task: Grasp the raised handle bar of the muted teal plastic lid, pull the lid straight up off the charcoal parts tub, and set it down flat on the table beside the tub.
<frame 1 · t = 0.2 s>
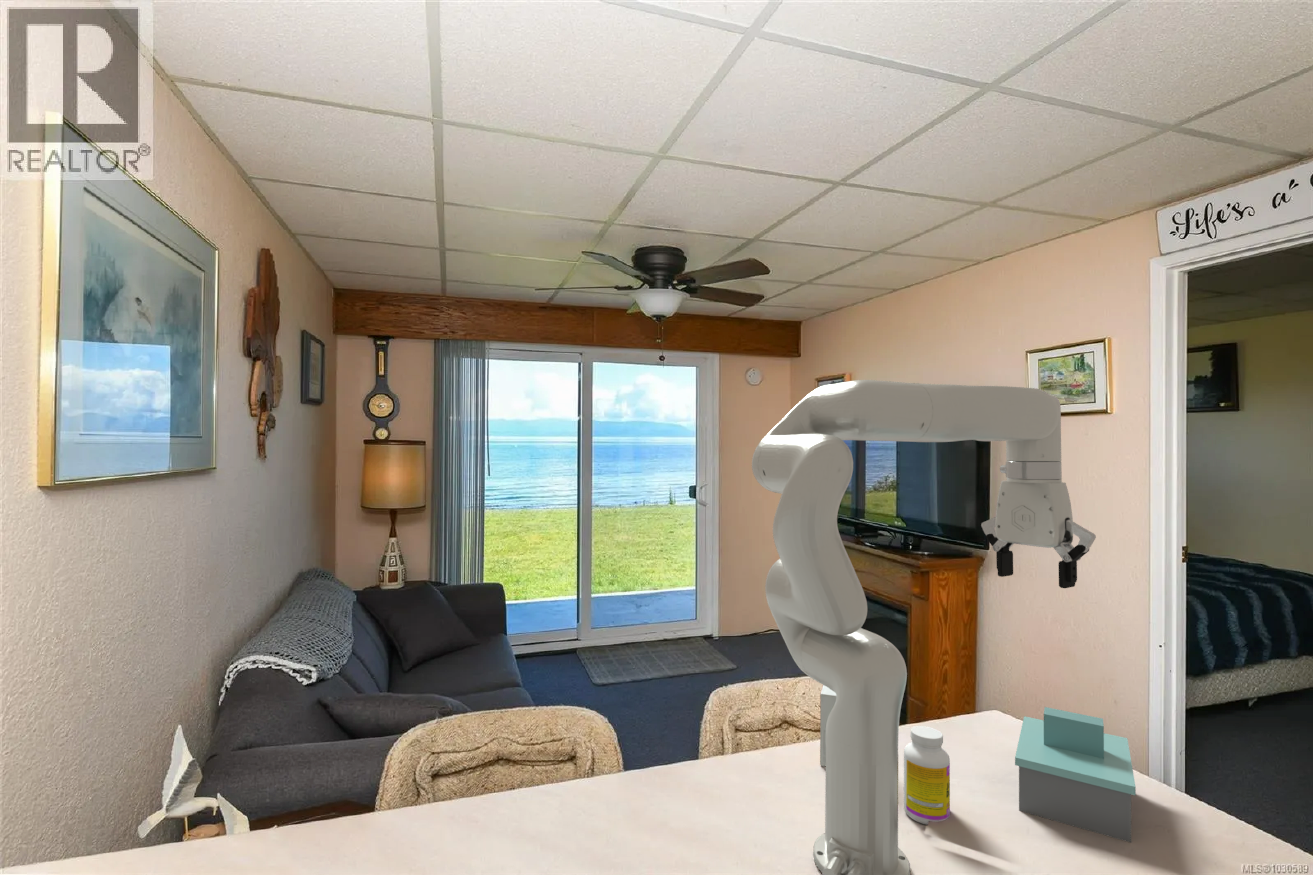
hand: (1035, 581, 99), 37 cm above the table, tool pointing down, fingers open, 9 cm apart
small box: (838, 760, 116), on the table
pine block: (1052, 782, 107), point 1 cm above the table, touching tub
tub: (1073, 805, 102), on the table
supplement bottle: (926, 816, 98), on the table
lid: (1073, 754, 102), point 8 cm above the table, touching tub
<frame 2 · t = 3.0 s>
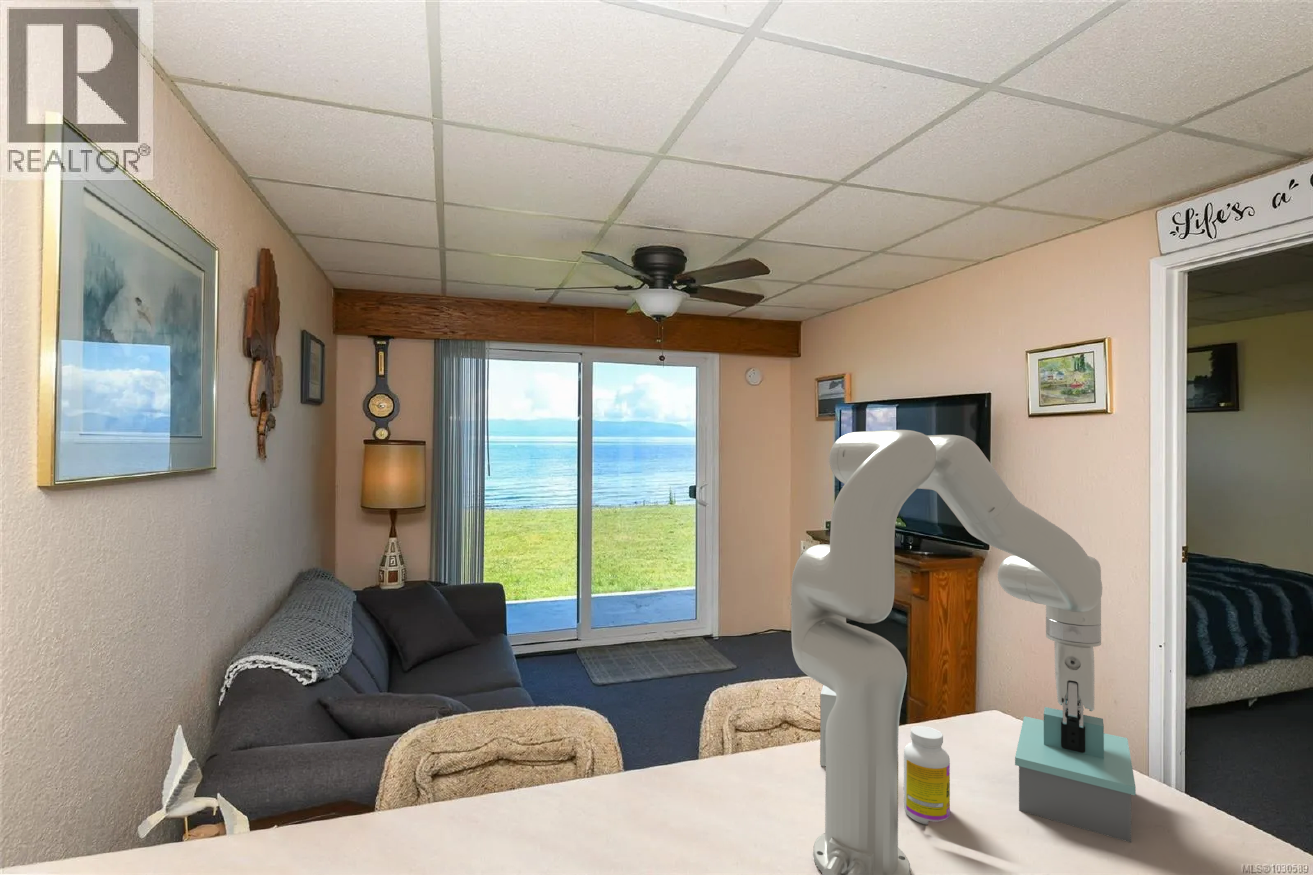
hand: (1073, 743, 102), 10 cm above the table, tool pointing down, fingers closed on lid, 3 cm apart
lid: (1073, 754, 102), point 8 cm above the table, touching gripper, tub
everything else where it was.
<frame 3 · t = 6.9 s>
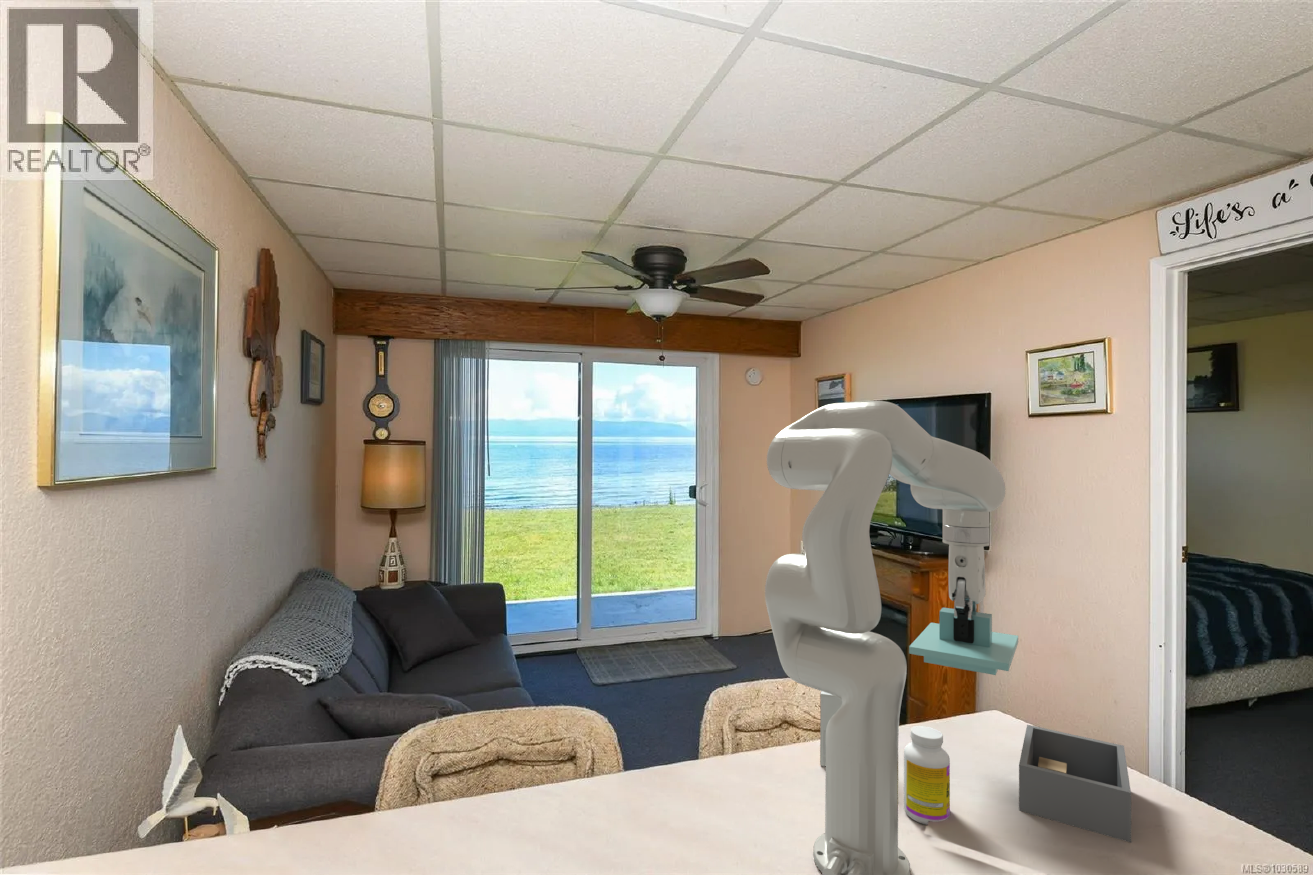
hand: (965, 637, 112), 24 cm above the table, tool pointing down, fingers closed on lid, 3 cm apart
lid: (965, 647, 112), point 22 cm above the table, touching gripper
everything else where it was.
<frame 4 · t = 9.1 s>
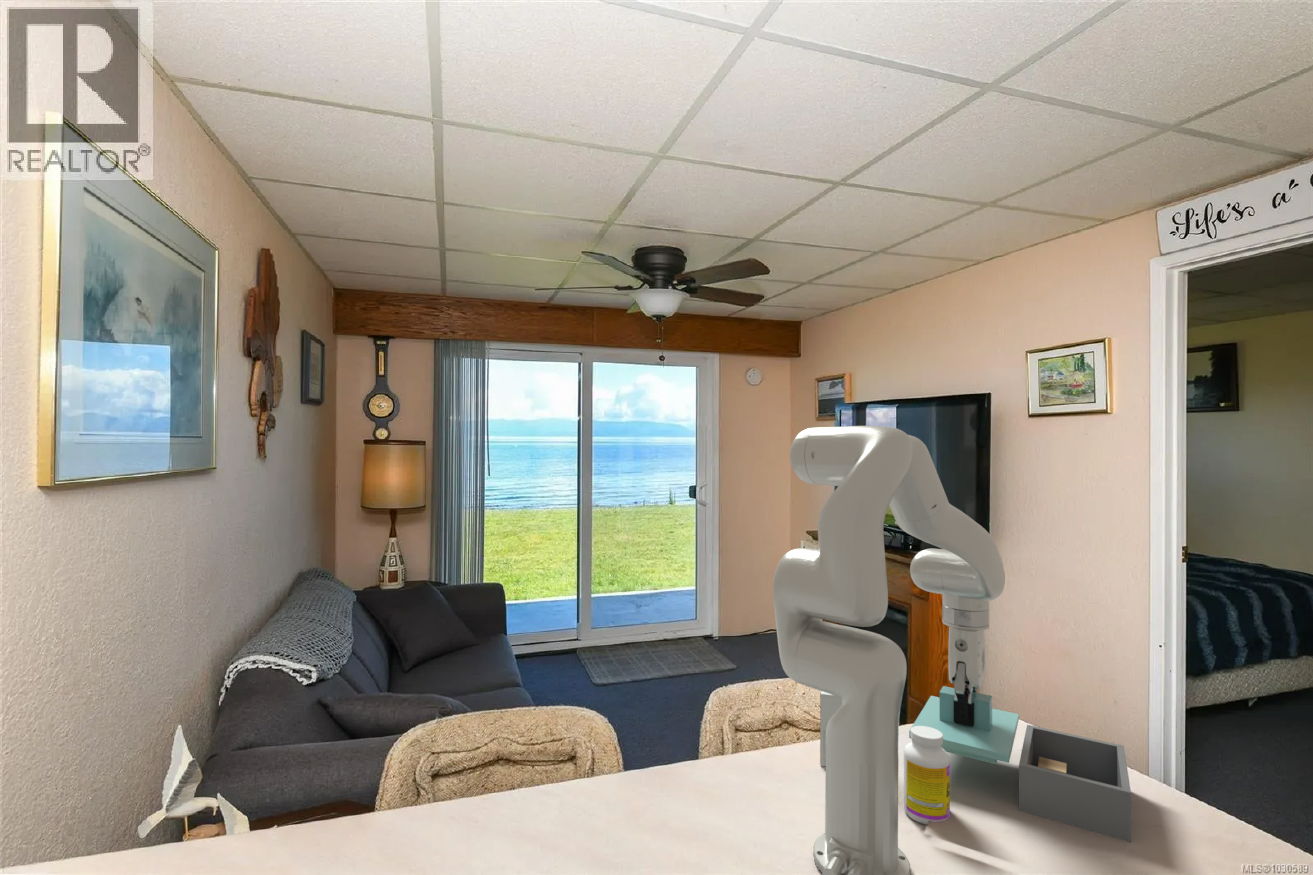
hand: (965, 719, 112), 9 cm above the table, tool pointing down, fingers closed on lid, 3 cm apart
lid: (965, 729, 112), point 8 cm above the table, touching gripper
everything else where it was.
when the fingers open (5 cm above the table, at t = 10.8 s): lid drops 2 cm, point 1 cm above the table.
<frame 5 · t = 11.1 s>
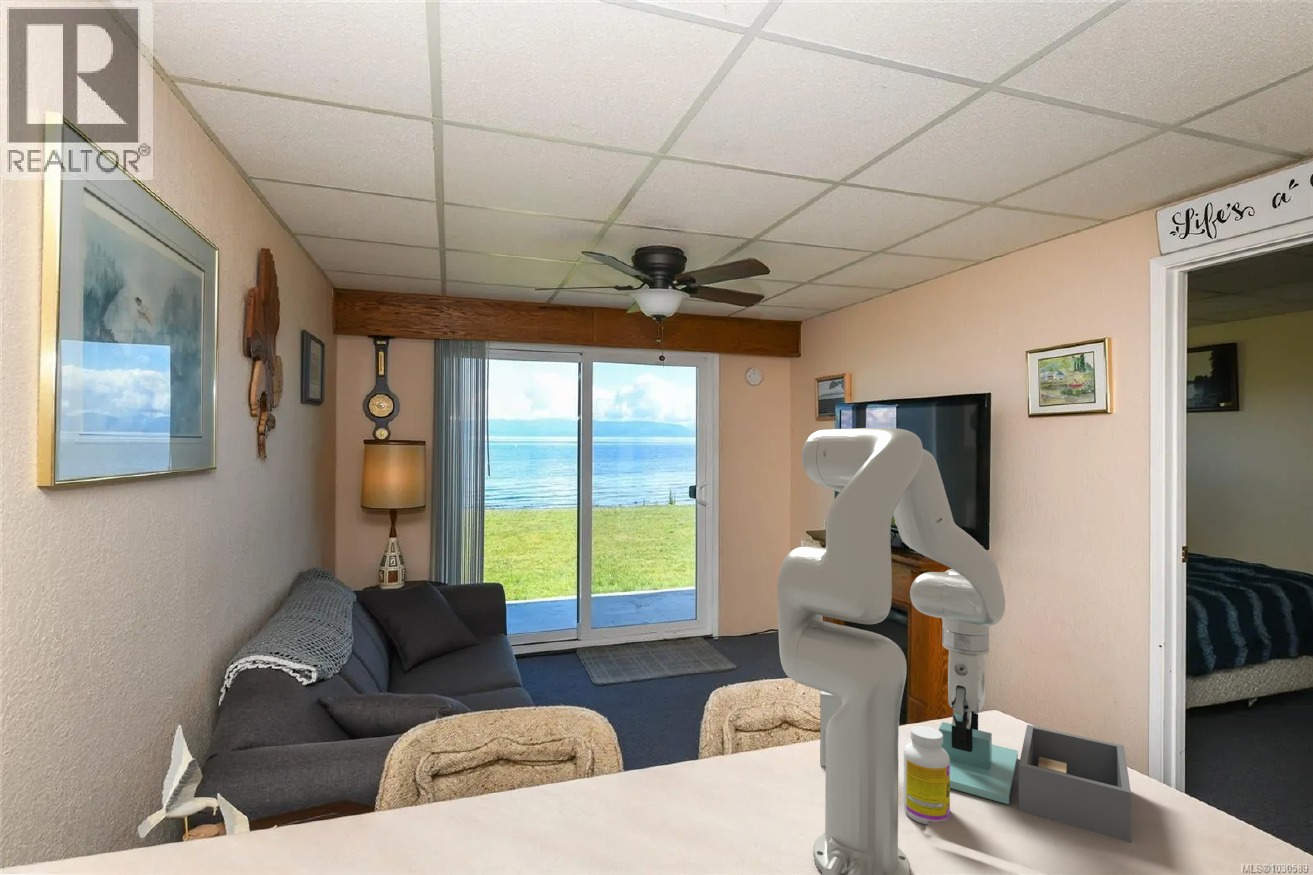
hand: (965, 740, 112), 6 cm above the table, tool pointing down, fingers open, 6 cm apart
lid: (965, 766, 111), point 1 cm above the table
everything else where it was.
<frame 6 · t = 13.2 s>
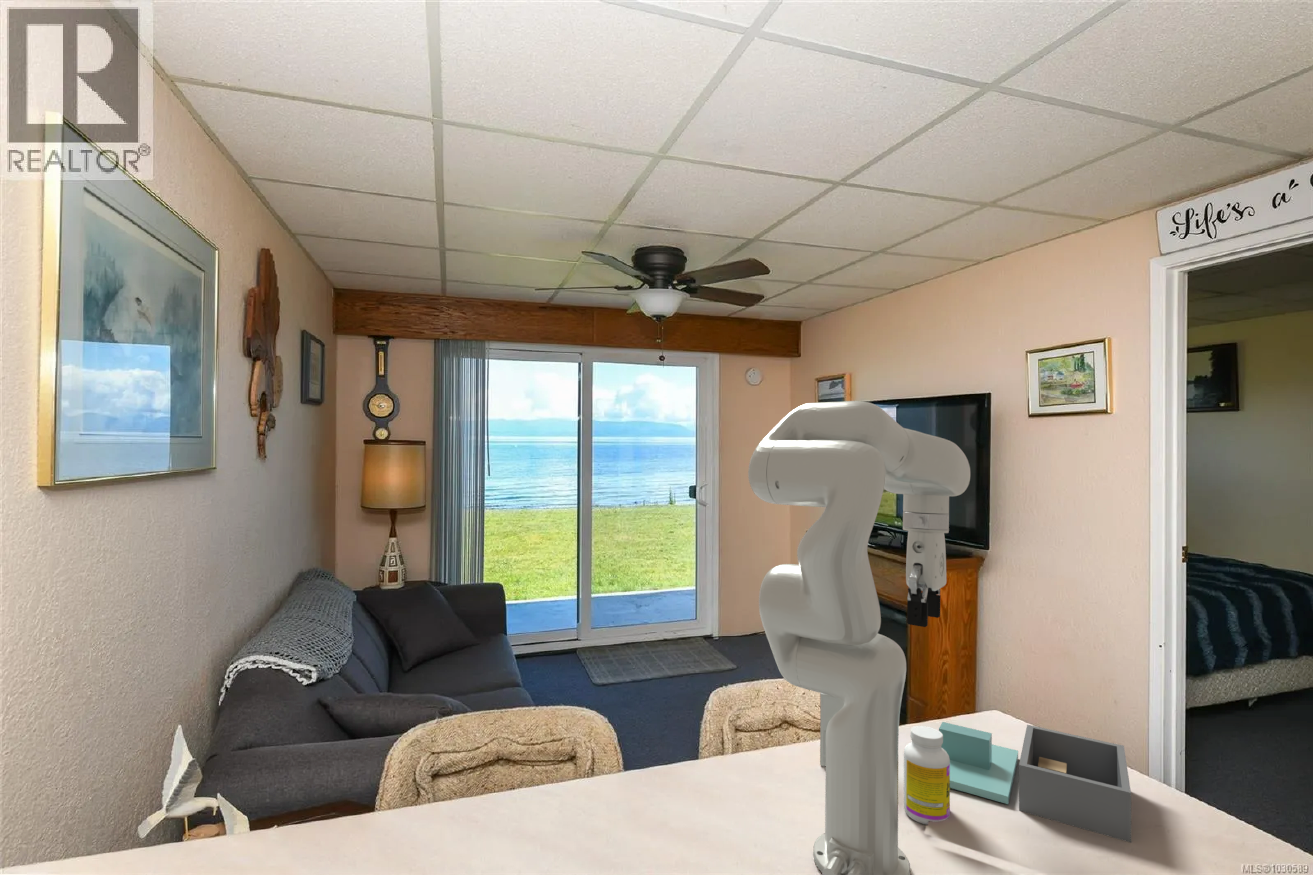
hand: (924, 620, 111), 27 cm above the table, tool pointing down, fingers open, 9 cm apart
nothing on the table moved.
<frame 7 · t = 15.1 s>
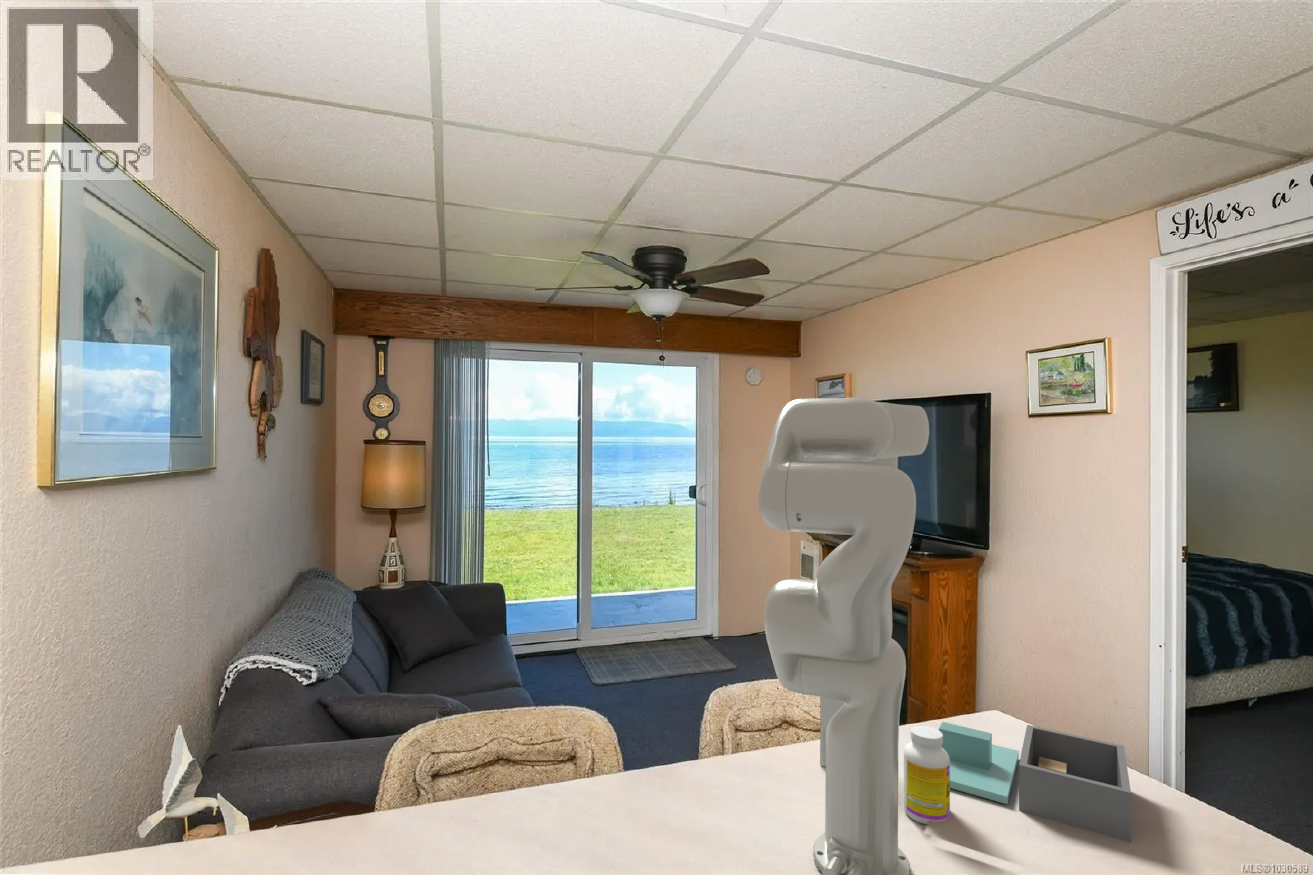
hand: (874, 579, 110), 34 cm above the table, tool pointing down, fingers open, 9 cm apart
nothing on the table moved.
at the end: lid inside the target area (0.1 cm from its centre), point 1.2 cm above the table; lid tilted 0°; the gripper is holding nothing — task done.
